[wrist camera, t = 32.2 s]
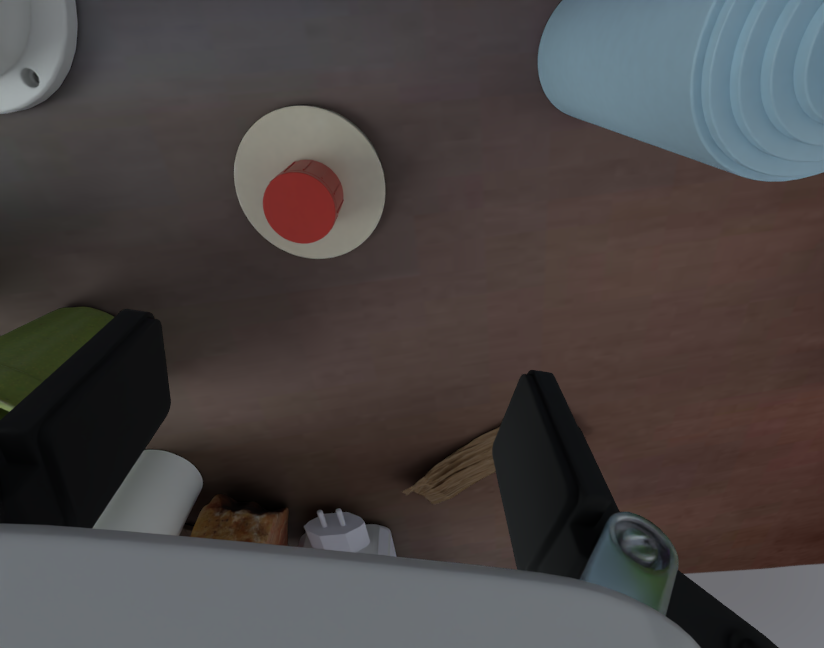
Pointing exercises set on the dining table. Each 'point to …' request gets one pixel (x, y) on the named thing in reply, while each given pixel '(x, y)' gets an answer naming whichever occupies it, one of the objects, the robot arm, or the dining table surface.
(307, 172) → the cap
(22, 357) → the plant pot
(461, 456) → the wood plank
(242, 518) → the stone
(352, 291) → the dining table surface
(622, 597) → the robot arm
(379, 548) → the charger
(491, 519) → the dining table surface
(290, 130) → the coaster
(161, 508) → the cylindrical container
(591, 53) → the water bottle
